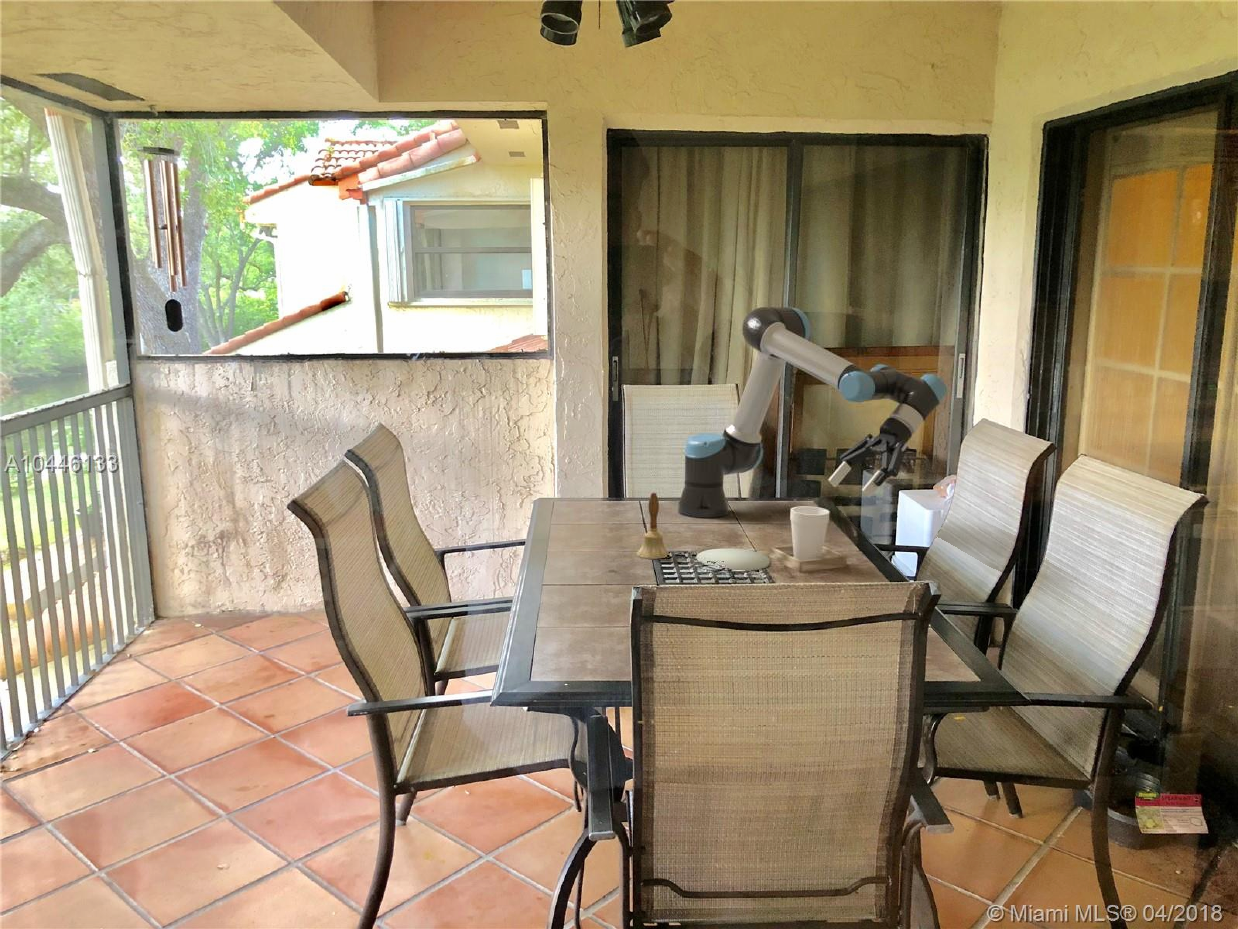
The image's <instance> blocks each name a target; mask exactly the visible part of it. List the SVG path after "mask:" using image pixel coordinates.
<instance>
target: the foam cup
mask: <svg viewBox="0 0 1238 929" xmlns="http://www.w3.org/2000/svg"><path fill="white" fill-rule="evenodd" d="M789 514H790V515H789V516H790V518H789V520H790V524H791V525H790V526H791V537H792V538H791V540H792V545H793V553H794V555H793V557H794V558H796V559H798V560H800V561H803V560H812V559H821V558H822V557H821V555H822V550H823V546H824V544H825V540H826V534H827V529H828V523H829V521H830V510H828V509H826V508H823V507H820V506H819V507H817V506H811V505H810V506H808V505H807V506H802V505H801V506H793V507H791V508H790V513H789Z"/></svg>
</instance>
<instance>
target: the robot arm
mask: <svg viewBox="0 0 1238 929" xmlns="http://www.w3.org/2000/svg"><path fill="white" fill-rule="evenodd" d="M741 328H742V329H741V331H742V335H743V339H744V341H745V342H746V343H747V345H749V346H750V347H751V348H752V349H755V350H756V351H757V355H756V357H755V360H754V362H753V365H752V368H751V371H750V374H749V376H748V378H747V381H746V385H745V387H744V390H743V393H742V394H741V398H740V401H739V403H738V406H737V408H736V412H735V413H734V414H735V415H734V417H733V420H732V422H730V423H727V424H726V425H725V427H724V430H723V433H722V434H721V433H716V432H714V433H713V432H707V433H699V434H698V433H697V434H695V435H692V436H690V437H689V438H688V439H687V440H686V444H685V449H684V450H685V451H684V454H685V455H684V456H685V458H684V486H683V490H682V493H681V495H680V496H681V497H680V499H679V501H678V504H677V512H678V513H679V514H681V515H684V516H688V517H693V518H705V519H706V518H719V517H724V516H727V515H728V514H729V505H728V503H727V499H726V494H725V490H724V478H725V477H724V476H729V475H733V474H744V473H746V472H748V471H749V472H750V471H752V470H754V469H755V468H757V467H758V466H759V464H760V463H761V461H762V459H763V455H764V449H763V448H762V447H763V443H762V435H761V434H760V430H761V428H762V424H763V422H764V419H765V417H766V415H767V413H768V410H769V407H770V404H771V401H772V400H773V396H774V393H775V391H776V388H777V386H778V383H779V381H780V377H781V376H782V373H783V370H784V368H785V366H786V363H788V364H789V365H792V366H793V367H795V368H798V369H799V370H800V371H803V372H805V373H807V374H809V375H811V376H812V377H813V378H816V379H818V380H819V381H822V382H823V383H825V384H826V385H829V386H831V387H832V388H835V389H836V390H838V391H839V392H840V394H841V396H842V397H843V398H844V400H846V401H848V402H851V403H863V402H869V401H879V400H887V399H888V400H891V401H893V402H895V403H897V404H898V405H897V406H896V407H895V409H894V410H893V411H892V412H891V413H890V414H889V417H888V418H886V419H885V421H883V423H882V424H881V425H880V427H879V433H878V434H877V436H875V437H874V436H873V435H872V434H871V433H869V434H867V435H866V436H865V437H864V438H863V439H862V440H861V441H859V442H858V443H856V444H855V445H853V446H852V447H851V448H849V449H848V450H846V451H845V452H844V453H842V454H841V455H840V456H839V458H840V460H841V461H842V462H841V464H840V465H838V467H837V468H836V469H835V471H834V472H833V473H832V475H831V476H830V477H829V478H828V479H827V481H828V482H829V483H830V484H831V485H832V487H834V488H837V487H838V485H839V484H840V483H841V482H842V481H843V479H844V478H845V477H846V476H847V474H848V473H849V472H850V471H851V470H852V467H853V466H854V465H856V464H859V463H860V462H862V461H864V460H865V459H868V458H870V457H875V456H881V457H882V460H881V467H880V468H879V469H878V470H877V471H875V473H874V474H873V476H872V477H871V478H870V479H869V481H867V483H866V484H865V485H864V486H863V487H862V489H861V491H862V492H863V494H864V495H865V496H866V497H867V498H871V496H872V495H873V494H874V493H875V492H876V491H877V490H878V489H879V487H881V486H882V485H883V484H884V482H885V481H886V480H887V479H888V478H890V477H893V478H896V477H897V476H898V475H899V472H900V469H901V466H902V463H903V460H904V458H905V455H906V454H907V452H908V450H909V446H908V445H907V443H908V442H909V441H910V439H911V438H912V437H913V435H914V434H915V433H916V432H917V431H918V429H919V428H920V427H921V425H922V424H924V422H925V421H926V420H927V418H928V417H929V416H930V415H931V414H932V413H933V412H934V410H935V409H936V408H937V407H938V406H940V405H941V402H942V401H943V399H944V398H945V397H946V395H947V394H948V387H947V384H946V383H945V381H944V380H943V379H941V378H940V377H939V376H937V375H935V374H933V373H925V374H924V375H922V376H921V377H920V378H919V379H918V378H916V377H913V376H911V375H909V374H907V373H904V372H902V371H899V370H897V369H895V368H894V367H892V366H888V365H886V364H880V363H879V364H876V365H875V366H873V367H872V368H871V369H870V370H866V369H864V368H862V367H860V366H858V365H856V364H855V363H853V362H850V361H848V360H847V359H845V358H843V357H841V356H839V355H837V354H835V353H833V352H831V351H829V350H827V349H825V348H823V347H821V346H819V345H817V344H815V343H813V342H811V341H810V340H809V338H810V336H811V323H810V322H809V318H808V317H807V315H806V314H805V312H803V311H802V310H801V309H799V308H796V307H790V306H780V307H779V306H778V307H776V306H774V307H773V306H772V307H771V306H769V307H768V306H762V307H760V306H759V307H757V308H755V309H752V310H751V311H750V312H748V313H747V315H746V316H745V318H744V320H743V322H742V327H741Z"/></svg>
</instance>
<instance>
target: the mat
mask: <svg viewBox="0 0 1238 929" xmlns="http://www.w3.org/2000/svg"><path fill="white" fill-rule="evenodd" d="M696 558H697V560H698V561H705V562H702V563H704V564H705V565H726V566H724V567H723V566H722V567H721V568H729V569H732V570H755V571H759V570H758V569H760V570H763V569H766V568H767V567H768V566H769V565H770V561H771V560H770V557H769V556H767V555H765V554H763V553H760V552H757V551H753V550H748V549H744V548H743V549H741V548H712V549H711V548H710V549H707V550H706V549H705V550H704V551H700V552H699V553H697V555H696ZM696 558H695V559H696ZM704 558H705V559H704ZM697 560H696V561H697ZM707 561H718V562H716V563H715V564H713V563H711V562H708V563H707ZM719 561H724V562H719ZM719 568H720V566H719ZM762 568H763V569H762Z"/></svg>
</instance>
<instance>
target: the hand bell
mask: <svg viewBox="0 0 1238 929" xmlns="http://www.w3.org/2000/svg"><path fill="white" fill-rule="evenodd" d="M659 504H660V503H659V498H658V496H657V492H651V494H650V498H649V500H648V513H649V517H650V521H649V523H650V524H649V528H650V529H649V531H648V532H646V533H645V534H644V538H643V542H642V546H641V547H640V549H639V550H638V551H636V557H638V558H641V559H645V560H653V559H658V558H665V557H667V555H669V556H670V552H669V551H668V550H667V549H666V547H665V545H664V541H663V540H664V539H663V534H662V533H661V532H659V531H658V526H657V525H658V521H657V518H658V514H659V509H660V508H659V507H660V505H659ZM667 558H668V557H667ZM665 559H666V558H665ZM653 561H654V560H653Z"/></svg>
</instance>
